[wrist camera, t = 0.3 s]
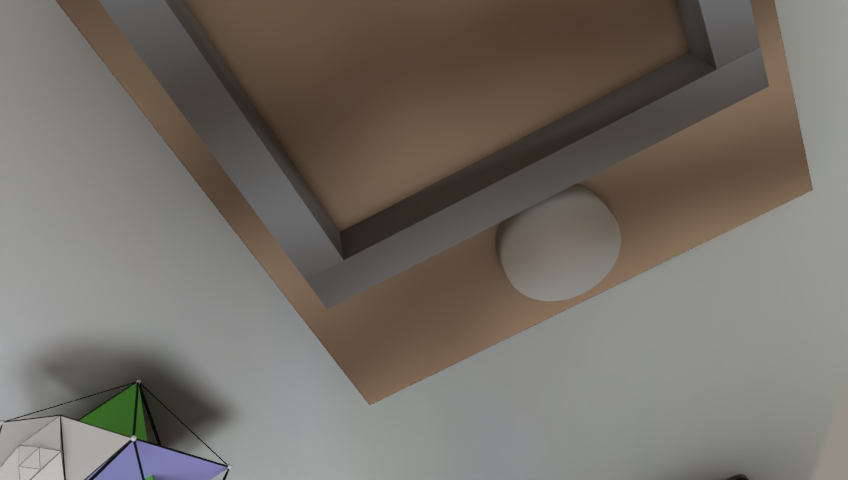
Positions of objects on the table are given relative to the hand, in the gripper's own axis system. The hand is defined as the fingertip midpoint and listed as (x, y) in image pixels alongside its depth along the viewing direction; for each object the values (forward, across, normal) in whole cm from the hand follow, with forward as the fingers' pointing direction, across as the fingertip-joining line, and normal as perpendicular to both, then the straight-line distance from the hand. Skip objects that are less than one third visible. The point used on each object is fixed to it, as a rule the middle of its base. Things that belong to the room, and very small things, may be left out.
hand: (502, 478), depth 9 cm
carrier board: (+14, -3, 0) cm, 14 cm away
